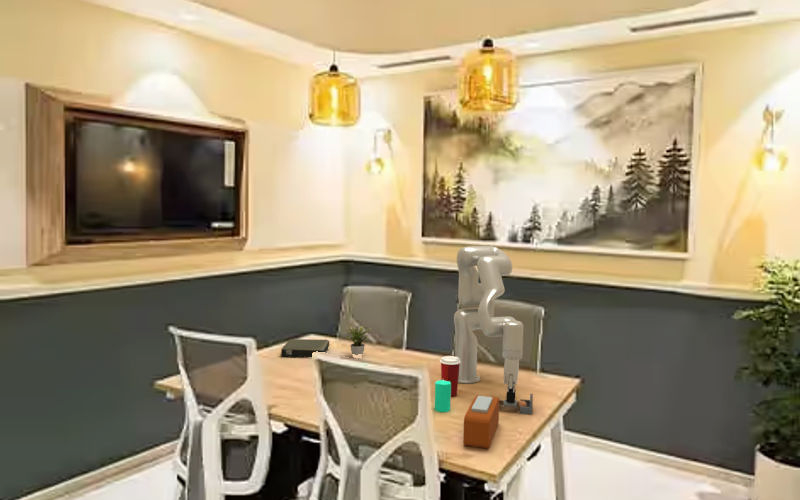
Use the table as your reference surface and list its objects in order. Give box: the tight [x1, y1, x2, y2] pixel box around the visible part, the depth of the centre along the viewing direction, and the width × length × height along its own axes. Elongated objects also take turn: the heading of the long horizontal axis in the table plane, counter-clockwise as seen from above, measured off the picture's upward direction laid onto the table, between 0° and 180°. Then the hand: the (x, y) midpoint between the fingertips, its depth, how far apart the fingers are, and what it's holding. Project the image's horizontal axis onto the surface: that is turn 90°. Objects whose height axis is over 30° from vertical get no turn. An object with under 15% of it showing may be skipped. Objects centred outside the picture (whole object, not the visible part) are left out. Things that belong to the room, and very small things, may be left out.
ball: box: [518, 400, 527, 410], centre depth 229 cm, size 3×3×3 cm
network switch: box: [280, 338, 330, 358], centre depth 307 cm, size 23×23×5 cm
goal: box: [519, 393, 534, 415], centre depth 229 cm, size 5×9×5 cm, turn 167°
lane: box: [499, 399, 519, 413], centre depth 231 cm, size 17×7×2 cm, turn 77°
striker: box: [503, 383, 518, 407], centre depth 230 cm, size 5×4×9 cm
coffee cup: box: [439, 355, 460, 398], centre depth 245 cm, size 8×8×15 cm
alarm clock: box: [462, 394, 500, 449], centre depth 204 cm, size 24×8×11 cm, turn 163°
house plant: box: [345, 325, 373, 355], centre depth 298 cm, size 14×14×16 cm
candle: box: [434, 379, 452, 413], centre depth 227 cm, size 6×6×12 cm
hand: (510, 400), depth 230 cm, fingers closed on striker, 2 cm apart
